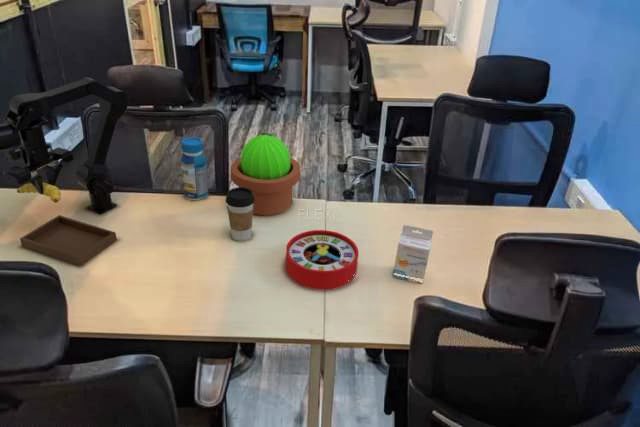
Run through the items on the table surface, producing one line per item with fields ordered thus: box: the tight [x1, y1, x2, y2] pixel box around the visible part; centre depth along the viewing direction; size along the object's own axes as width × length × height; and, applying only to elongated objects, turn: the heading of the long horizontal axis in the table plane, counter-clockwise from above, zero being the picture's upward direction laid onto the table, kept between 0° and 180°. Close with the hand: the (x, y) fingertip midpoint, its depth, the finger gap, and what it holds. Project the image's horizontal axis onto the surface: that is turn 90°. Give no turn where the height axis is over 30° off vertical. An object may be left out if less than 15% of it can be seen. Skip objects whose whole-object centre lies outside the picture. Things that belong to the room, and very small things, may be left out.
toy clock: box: [285, 229, 359, 291], centre depth 141 cm, size 20×6×20 cm
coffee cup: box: [225, 186, 255, 242], centre depth 150 cm, size 8×8×15 cm
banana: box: [16, 181, 62, 204], centre depth 147 cm, size 15×6×3 cm, turn 66°
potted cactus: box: [230, 132, 301, 216], centre depth 165 cm, size 22×22×25 cm
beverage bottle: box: [180, 136, 210, 201], centre depth 168 cm, size 8×8×20 cm
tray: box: [19, 214, 118, 268], centre depth 145 cm, size 21×14×3 cm
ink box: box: [392, 224, 434, 284], centre depth 138 cm, size 8×5×15 cm, turn 72°
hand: (46, 191), depth 148 cm, fingers closed on banana, 3 cm apart
